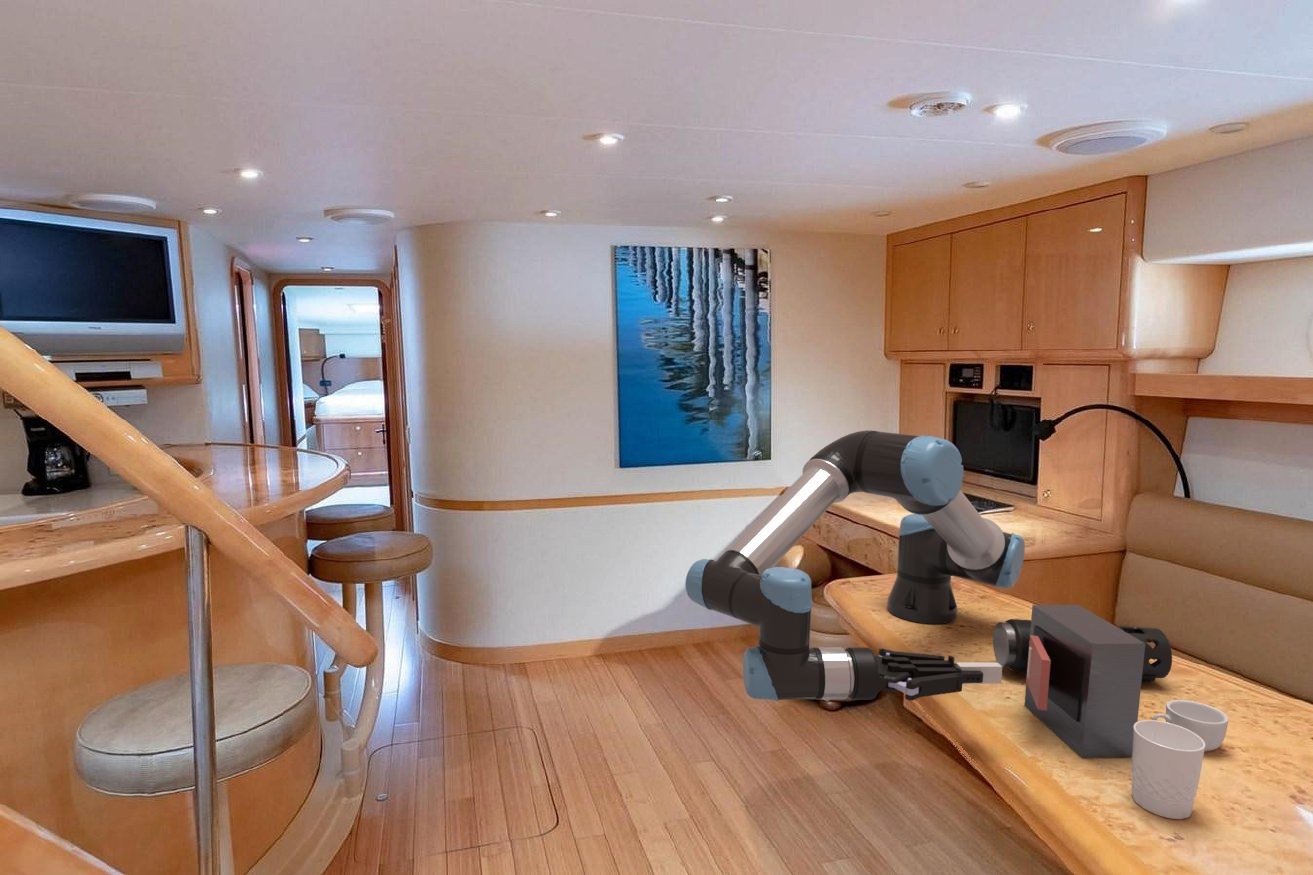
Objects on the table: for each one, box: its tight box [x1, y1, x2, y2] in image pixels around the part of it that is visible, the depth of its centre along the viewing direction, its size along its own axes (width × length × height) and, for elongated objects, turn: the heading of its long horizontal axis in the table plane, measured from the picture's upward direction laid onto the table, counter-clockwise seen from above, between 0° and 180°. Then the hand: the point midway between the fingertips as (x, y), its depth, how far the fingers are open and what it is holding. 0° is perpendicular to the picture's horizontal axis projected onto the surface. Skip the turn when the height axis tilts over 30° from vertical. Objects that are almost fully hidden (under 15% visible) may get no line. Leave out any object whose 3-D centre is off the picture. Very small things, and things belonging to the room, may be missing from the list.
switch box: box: [1023, 604, 1145, 759], centre depth 116 cm, size 16×8×18 cm, turn 2°
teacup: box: [1151, 699, 1229, 752], centre depth 114 cm, size 10×8×5 cm
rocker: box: [1025, 635, 1051, 711], centre depth 116 cm, size 10×1×8 cm, turn 162°
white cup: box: [1131, 719, 1205, 820], centre depth 98 cm, size 8×8×10 cm
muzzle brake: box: [992, 618, 1173, 682], centre depth 136 cm, size 10×28×10 cm, turn 83°
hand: (999, 672), depth 111 cm, fingers closed
